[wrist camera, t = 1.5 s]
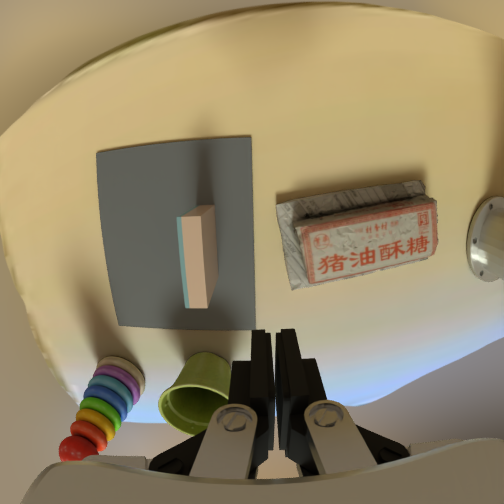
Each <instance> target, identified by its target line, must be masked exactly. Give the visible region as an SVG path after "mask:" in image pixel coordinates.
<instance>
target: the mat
mask: <svg viewBox="0 0 504 504" xmlns="http://www.w3.org/2000/svg"><path fill="white" fill-rule="evenodd" d="M96 163H97V184H98V198H99V210H100V220H101V229H102V237H103V244H104V251H105V258H106V264H107V270H108V276H109V282H110V287H111V292H112V297H113V302H114V306H115V311H116V315H117V320H118V324H119V326H130V327H145V328H163V329H187V330H256V326H255V279H254V234H253V190H252V148H251V137H245V138H221V139H205V140H192V141H181V142H171V143H162V144H153V145H145V146H138V147H131V148H124V149H118V150H112V151H106V152H100V153H96ZM196 205H215V221H216V241H217V259H218V275H219V277H218V280H217V282H216V285H215V288H214V291H213V294H212V297H211V300H210V303H209V306H208V308H185V301H184V293H183V284H182V275H181V265H180V255H179V243H178V231H177V217H178V216H179V215H181V214H183V213H184V212H186V211H188V210H189V209H191V208H193V207H194V206H196Z"/></svg>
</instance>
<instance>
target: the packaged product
mask: <svg viewBox="0 0 504 504" xmlns="http://www.w3.org/2000/svg"><path fill="white" fill-rule="evenodd" d="M276 212H277V220H278V224H279V228H280V232H281V236H282V244H283V252H284V258H285V264H286V270H287V274H288V278H289V281H290V285H291V290H296V289H300V288H305V287H312V286H317V285H320V284H324V283H329V282H333V281H339V280H343V279H348V278H353V277H357V276H361V275H366V274H370V273H373V272H376V271H378V270H386V269H390V268H394V267H398V266H401V265H406V264H410V263H414V262H418V261H422V260H426V259H428V257H430V256H432V255H433V254H434V253H435V250H436V247H437V245H438V239H437V234H438V233H437V223H438V219H437V217H438V215H437V201H436V200H434V199H433V198H429V197H428V196H426V195H425V186H424V184H423V183H422V181H421V180H418V181H409V182H404V183H399V184H389V185H380V186H373V187H365V188H358V189H350V190H344V191H337V192H332V193H325V194H320V195H314V196H309V197H304V198H298V199H293V200H289V201H286V202H283V203H280V204H277V205H276Z"/></svg>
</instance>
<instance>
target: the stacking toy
mask: <svg viewBox="0 0 504 504" xmlns="http://www.w3.org/2000/svg"><path fill="white" fill-rule="evenodd" d="M144 390H145V381H144V378H143V375H142V374H141V372H140V371H139V369H138V368H137V367H136V366H134V365H133V364H132V363H130V362H129V361H127V360H125V359H123V358H120V357H115V356H109V357H105V358H103V359H102V360H100V361H99V363H98V365H97V368H96V371H95V372H94V374H93V378H92V379H91V380H90V381H89V384H88V388H87V389H86V390H85V392H84V399H83V400H82V401H81V403H80V410H79V411H78V412H77V414H76V421H75V422H74V423H72V425H71V427H70V430H71V434H72V436H69V437H67V438H65V439H64V440H63V441H62V442H61V444H60V446H59V456H60V459H61V461H62V462H63V461H82V460H83V459H84V458H85V457H87V456H90V455H99V453H98V451H103V450H104V449H105V448H106V447H107V441H110V440H112V439H113V438H114V436H115V431H117V430H118V429H119V428H120V426H121V422H122V421H124V420H125V419H126V417H127V413H128V412H130V411H131V409H132V407H133V405H135V404H136V403H137V402H138V400H139V398H140V396H141V395H142V394H143V392H144Z"/></svg>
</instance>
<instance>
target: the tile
mask: <svg viewBox="0 0 504 504" xmlns="http://www.w3.org/2000/svg"><path fill="white" fill-rule="evenodd" d="M177 231H178V243H179V255H180V265H181V275H182V284H183V293H184V301H185V308H208V306H209V303H210V300H211V297H212V294H213V291H214V288H215V285H216V282H217V280H218V277H219V275H218V259H217V241H216V221H215V205H196V206H194V207H193V208H191V209H189V210H188V211H186V212H184V213H183V214H181V215H179V216H178V217H177Z"/></svg>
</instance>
